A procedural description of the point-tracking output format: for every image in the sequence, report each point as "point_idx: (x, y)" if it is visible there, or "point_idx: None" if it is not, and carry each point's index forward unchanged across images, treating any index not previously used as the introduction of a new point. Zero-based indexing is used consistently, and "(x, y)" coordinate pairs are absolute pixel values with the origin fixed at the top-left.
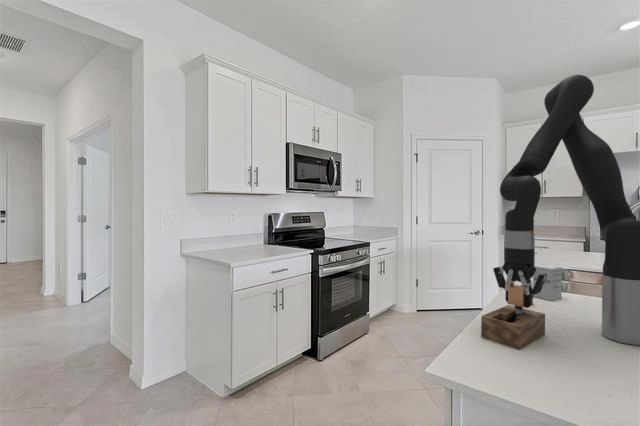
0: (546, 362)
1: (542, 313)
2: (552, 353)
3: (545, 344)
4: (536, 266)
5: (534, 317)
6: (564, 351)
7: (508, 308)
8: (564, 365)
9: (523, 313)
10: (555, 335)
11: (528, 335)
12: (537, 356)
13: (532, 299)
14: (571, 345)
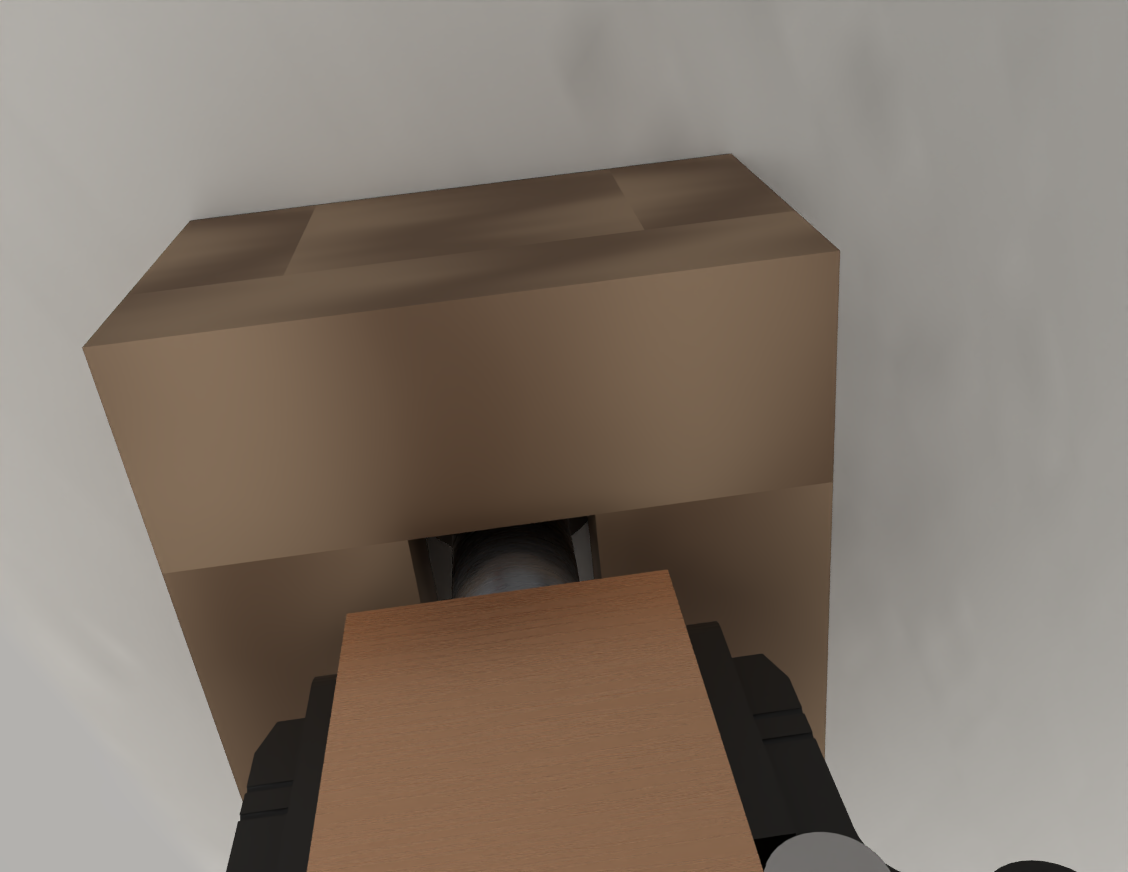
0: (990, 790)
1: (799, 282)
2: (978, 608)
3: (858, 466)
4: None
5: (795, 598)
6: (1052, 471)
7: (267, 549)
8: (1108, 728)
9: (552, 508)
10: (839, 43)
11: None
12: (903, 759)
13: (822, 758)
14: (1079, 234)
